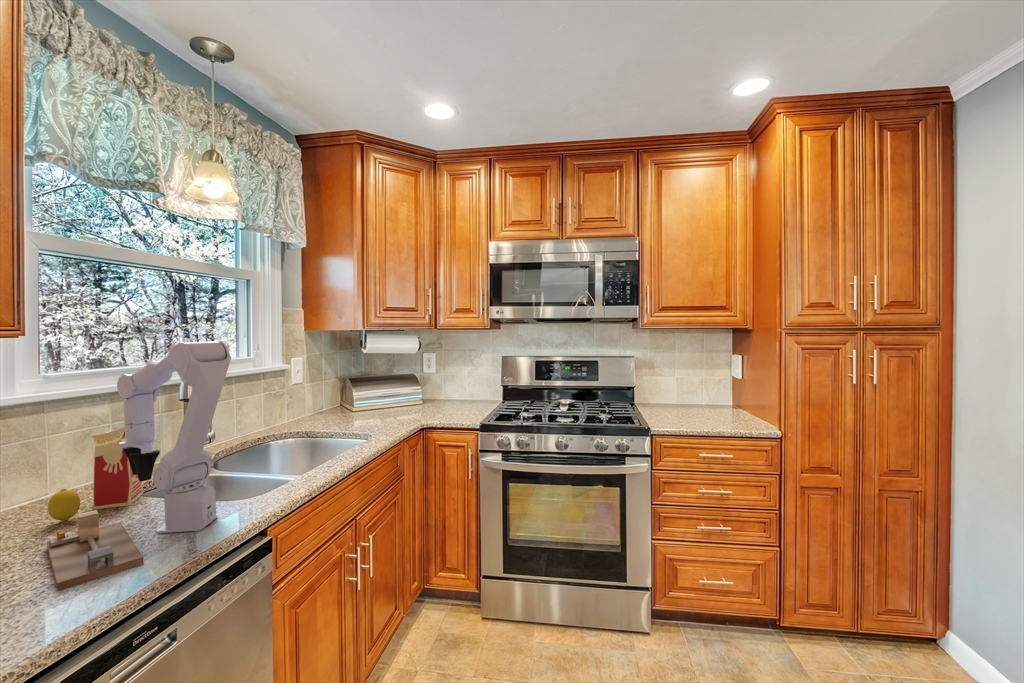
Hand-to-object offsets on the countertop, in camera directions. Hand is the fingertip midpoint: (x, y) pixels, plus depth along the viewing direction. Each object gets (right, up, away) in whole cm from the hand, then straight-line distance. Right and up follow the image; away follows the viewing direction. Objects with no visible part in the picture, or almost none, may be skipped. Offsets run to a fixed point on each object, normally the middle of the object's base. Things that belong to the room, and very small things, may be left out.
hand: (141, 477), depth 113 cm
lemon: (-16, -10, -3) cm, 19 cm away
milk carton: (-14, -9, +9) cm, 19 cm away
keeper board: (+6, -10, -20) cm, 23 cm away
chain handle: (+3, -8, -20) cm, 22 cm away
